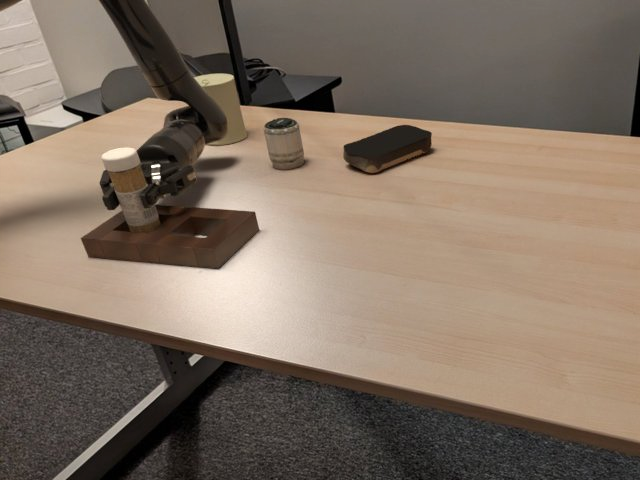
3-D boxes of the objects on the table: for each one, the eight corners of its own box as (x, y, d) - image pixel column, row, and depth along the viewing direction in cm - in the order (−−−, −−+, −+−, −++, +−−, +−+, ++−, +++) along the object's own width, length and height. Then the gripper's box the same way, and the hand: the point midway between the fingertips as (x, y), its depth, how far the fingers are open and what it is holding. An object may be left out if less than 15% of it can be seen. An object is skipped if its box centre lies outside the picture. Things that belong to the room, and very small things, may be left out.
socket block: (88, 257, 93) (80, 238, 92) (139, 220, 103) (132, 202, 101) (218, 269, 89) (213, 249, 87) (259, 229, 98) (255, 211, 96)
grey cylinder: (264, 168, 119) (255, 125, 114) (282, 156, 123) (273, 114, 119) (295, 171, 117) (286, 127, 112) (311, 159, 122) (304, 116, 117)
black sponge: (406, 141, 127) (404, 122, 125) (436, 151, 122) (435, 131, 120) (340, 166, 118) (337, 146, 116) (370, 177, 113) (367, 157, 111)
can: (194, 146, 130) (177, 84, 123) (210, 131, 138) (194, 71, 131) (240, 144, 130) (225, 82, 123) (252, 129, 137) (239, 70, 130)
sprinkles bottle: (156, 230, 99) (126, 144, 92) (172, 238, 97) (142, 150, 89) (128, 241, 97) (94, 153, 89) (143, 250, 94) (109, 160, 86)
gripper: (114, 137, 102) (64, 179, 88) (205, 132, 102) (169, 174, 88) (130, 182, 106) (85, 230, 93) (217, 178, 106) (185, 225, 92)
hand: (126, 202), depth 90 cm, fingers closed on sprinkles bottle, 4 cm apart
